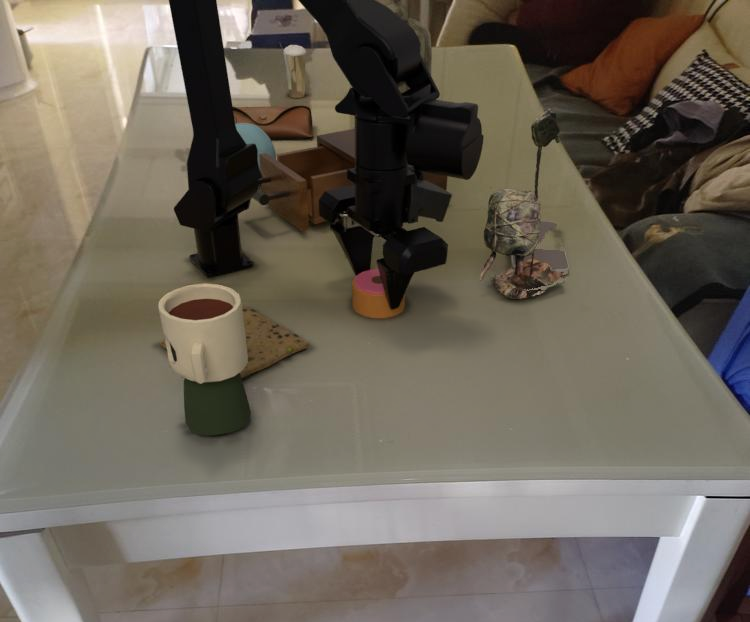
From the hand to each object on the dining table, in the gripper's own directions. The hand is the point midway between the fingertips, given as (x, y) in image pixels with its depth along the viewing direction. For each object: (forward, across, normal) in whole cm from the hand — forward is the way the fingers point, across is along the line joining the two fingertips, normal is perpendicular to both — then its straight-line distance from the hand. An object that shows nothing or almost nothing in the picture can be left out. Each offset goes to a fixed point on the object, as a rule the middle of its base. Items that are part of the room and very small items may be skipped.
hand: (378, 296), depth 90 cm
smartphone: (+1, +2, -27) cm, 27 cm away
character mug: (+1, -12, +26) cm, 29 cm away
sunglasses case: (+2, +65, -16) cm, 67 cm away
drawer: (0, +28, -5) cm, 28 cm away
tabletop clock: (+2, +54, -36) cm, 65 cm away
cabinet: (+1, +28, -18) cm, 33 cm away
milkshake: (+2, +84, -32) cm, 90 cm away
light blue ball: (+1, +45, -2) cm, 45 cm away
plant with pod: (+1, -5, -18) cm, 19 cm away
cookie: (+1, 0, +19) cm, 19 cm away
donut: (+1, 0, 0) cm, 1 cm away
